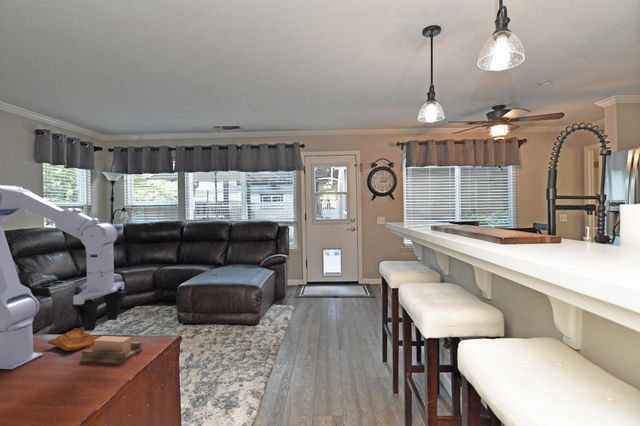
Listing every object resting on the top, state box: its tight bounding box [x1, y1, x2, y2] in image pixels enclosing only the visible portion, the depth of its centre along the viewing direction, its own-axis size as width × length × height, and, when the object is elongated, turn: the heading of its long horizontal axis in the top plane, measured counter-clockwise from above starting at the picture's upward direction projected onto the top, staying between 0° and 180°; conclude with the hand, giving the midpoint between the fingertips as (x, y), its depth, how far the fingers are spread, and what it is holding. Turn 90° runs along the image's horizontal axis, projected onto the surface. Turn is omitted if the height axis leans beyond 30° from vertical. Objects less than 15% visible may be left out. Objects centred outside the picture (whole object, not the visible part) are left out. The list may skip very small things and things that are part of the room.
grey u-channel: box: [80, 340, 143, 364], centre depth 88 cm, size 11×8×2 cm
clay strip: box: [93, 335, 132, 354], centre depth 88 cm, size 8×3×4 cm, turn 82°
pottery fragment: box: [46, 327, 101, 352], centre depth 94 cm, size 10×5×10 cm
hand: (101, 324), depth 86 cm, fingers open, 7 cm apart
